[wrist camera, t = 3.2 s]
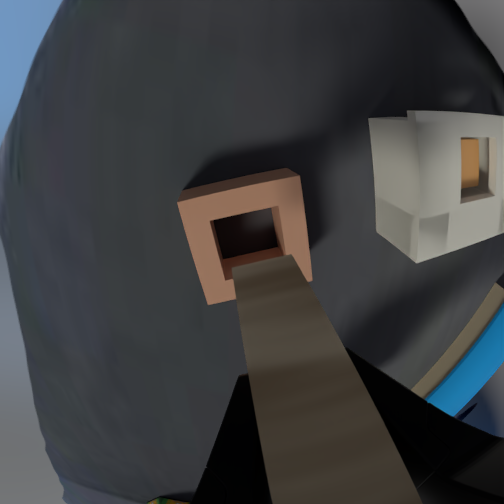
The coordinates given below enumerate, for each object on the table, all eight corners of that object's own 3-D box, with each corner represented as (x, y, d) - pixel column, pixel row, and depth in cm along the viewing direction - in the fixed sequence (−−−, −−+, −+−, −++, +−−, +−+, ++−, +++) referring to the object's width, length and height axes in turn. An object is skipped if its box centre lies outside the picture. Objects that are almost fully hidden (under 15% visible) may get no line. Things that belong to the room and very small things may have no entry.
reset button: (465, 180, 18) (478, 185, 17) (436, 185, 18) (449, 190, 17) (465, 136, 16) (478, 139, 15) (434, 137, 16) (448, 139, 15)
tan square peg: (297, 302, 14) (407, 560, 3) (243, 315, 13) (303, 594, 3) (291, 253, 12) (444, 554, 2) (231, 267, 12) (296, 608, 2)
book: (389, 434, 32) (513, 295, 24) (379, 412, 36) (492, 278, 28) (441, 428, 37) (533, 323, 29) (432, 412, 41) (519, 309, 33)
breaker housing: (472, 207, 22) (512, 229, 17) (376, 231, 22) (416, 263, 17) (472, 111, 18) (518, 118, 13) (366, 110, 18) (415, 110, 13)
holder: (300, 260, 22) (312, 280, 19) (208, 281, 22) (208, 304, 19) (286, 167, 19) (299, 175, 16) (182, 190, 18) (177, 202, 16)
